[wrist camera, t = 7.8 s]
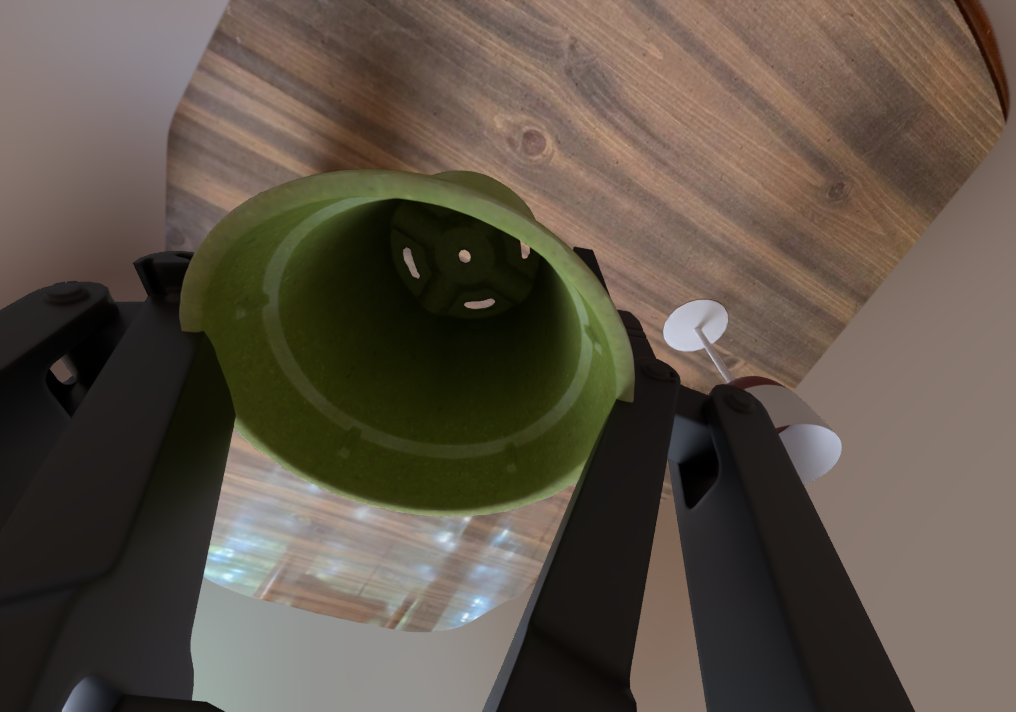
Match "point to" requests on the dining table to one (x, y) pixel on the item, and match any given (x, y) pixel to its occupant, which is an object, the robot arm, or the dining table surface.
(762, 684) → the robot arm
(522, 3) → the dining table surface
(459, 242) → the plant pot
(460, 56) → the dining table surface
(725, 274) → the dining table surface
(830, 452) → the wineglass
